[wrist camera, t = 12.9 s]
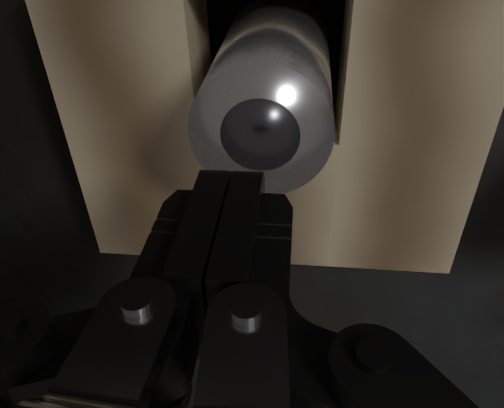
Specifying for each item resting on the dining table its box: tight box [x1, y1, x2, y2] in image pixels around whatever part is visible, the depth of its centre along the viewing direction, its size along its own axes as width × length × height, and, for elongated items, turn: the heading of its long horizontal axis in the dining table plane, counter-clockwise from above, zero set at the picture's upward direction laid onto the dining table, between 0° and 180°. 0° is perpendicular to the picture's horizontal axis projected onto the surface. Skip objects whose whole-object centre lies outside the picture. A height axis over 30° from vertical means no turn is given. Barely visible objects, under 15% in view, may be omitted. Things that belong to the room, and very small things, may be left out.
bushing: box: [188, 0, 335, 194], centre depth 17 cm, size 4×4×9 cm
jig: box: [25, 0, 504, 273], centre depth 21 cm, size 18×14×4 cm
